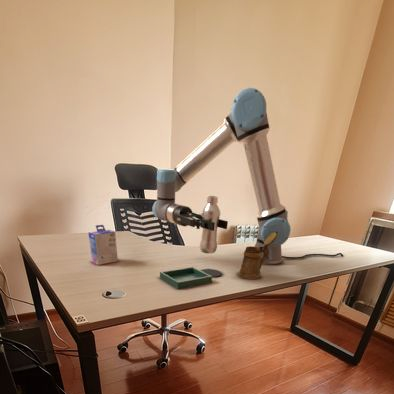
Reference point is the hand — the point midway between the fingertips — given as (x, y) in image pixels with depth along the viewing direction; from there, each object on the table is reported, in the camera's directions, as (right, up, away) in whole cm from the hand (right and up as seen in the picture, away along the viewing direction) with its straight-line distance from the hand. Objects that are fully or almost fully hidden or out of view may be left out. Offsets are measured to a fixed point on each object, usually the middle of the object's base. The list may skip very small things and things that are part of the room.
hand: (220, 225), depth 110 cm
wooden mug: (+16, -14, +17) cm, 27 cm away
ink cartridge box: (-48, -7, +20) cm, 52 cm away
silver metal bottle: (-4, -7, +9) cm, 12 cm away
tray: (-13, -18, +7) cm, 23 cm away
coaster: (-3, -13, +16) cm, 21 cm away
